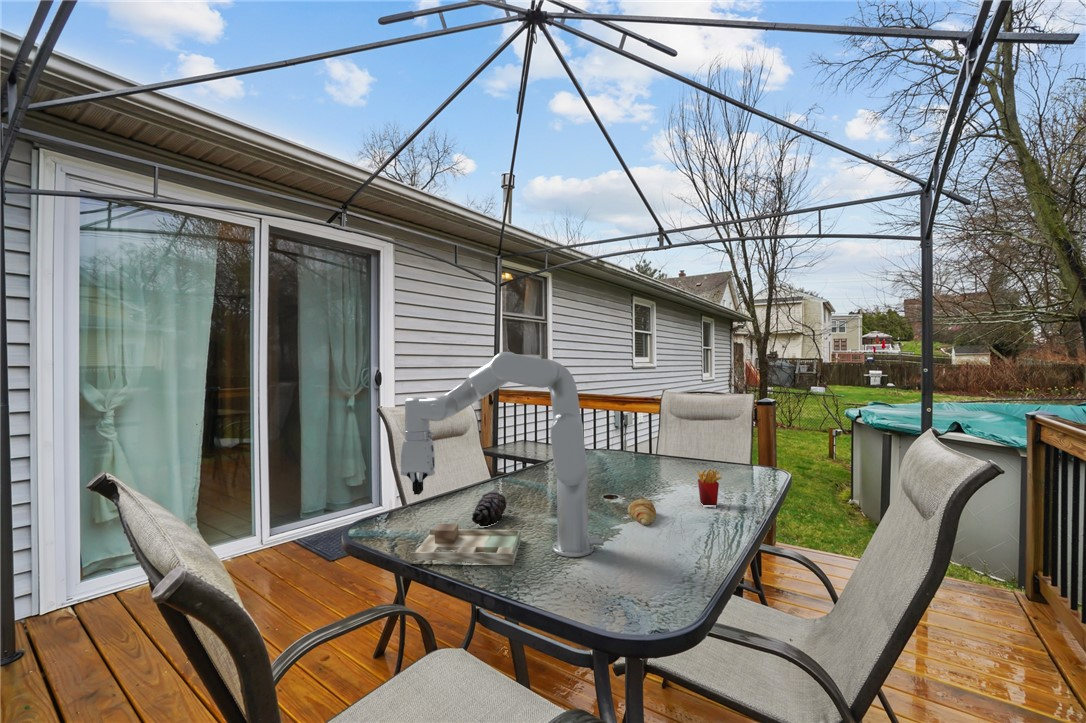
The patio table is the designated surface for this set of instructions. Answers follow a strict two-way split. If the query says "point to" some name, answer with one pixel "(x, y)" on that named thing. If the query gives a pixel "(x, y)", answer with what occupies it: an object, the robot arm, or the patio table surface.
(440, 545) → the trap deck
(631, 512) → the croissant
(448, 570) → the patio table surface
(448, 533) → the walnut block
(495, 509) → the pine cone
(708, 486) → the french fries
